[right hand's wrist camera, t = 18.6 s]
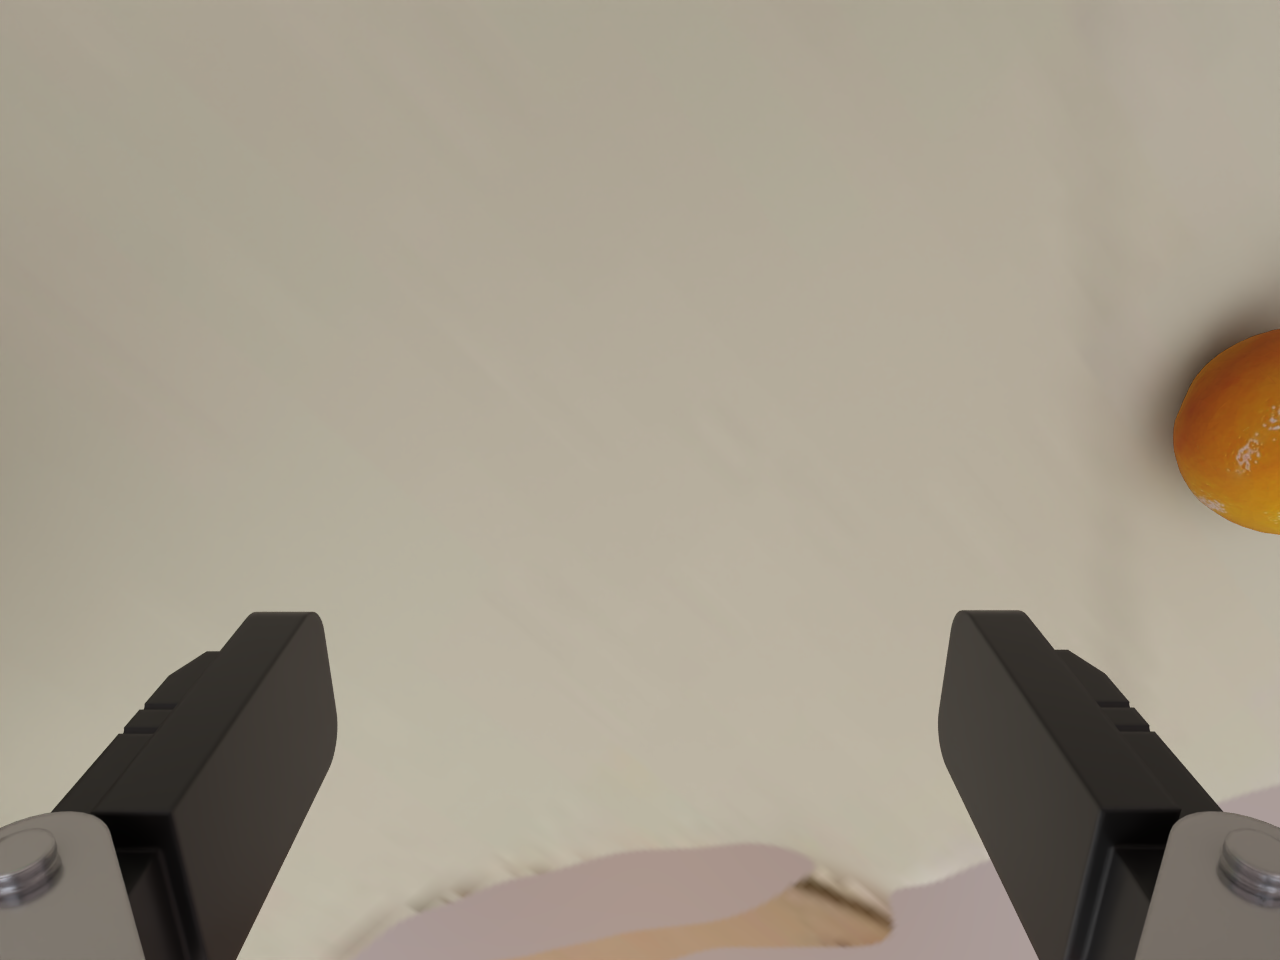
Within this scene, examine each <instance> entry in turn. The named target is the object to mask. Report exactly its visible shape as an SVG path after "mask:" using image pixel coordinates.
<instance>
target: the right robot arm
mask: <svg viewBox="0 0 1280 960" xmlns="http://www.w3.org/2000/svg"><path fill="white" fill-rule="evenodd" d="M938 733H939V742H940V748H941V752H942V756H943V759H944V762H945V765H946V767H947V769H948V771H949V773H950V775H951V778H952V780H953V782H954V784H955V786H956V788H957V790H958V792H959V794H960V796H961V798H962V800H963V802H964V805H965V807H966V809H967V811H968V813H969V815H970V817H971V819H972V821H973V823H974V825H975V827H976V829H977V832H978V834H979V836H980V838H981V840H982V842H983V844H984V846H985V848H986V850H987V852H988V854H989V857H990V859H991V861H992V863H993V865H994V867H995V869H996V871H997V873H998V875H999V877H1000V879H1001V881H1002V884H1003V886H1004V888H1005V890H1006V892H1007V894H1008V896H1009V898H1010V900H1011V902H1012V904H1013V906H1014V908H1015V911H1016V913H1017V915H1018V917H1019V919H1020V921H1021V923H1022V925H1023V927H1024V929H1025V931H1026V933H1027V935H1028V938H1029V940H1030V942H1031V944H1032V946H1033V948H1034V950H1035V952H1036V954H1037V956H1038V958H1039V960H1280V828H1279V827H1276V826H1274V825H1271V824H1269V823H1266V822H1264V821H1260V820H1258V819H1254V818H1251V817H1248V816H1243V815H1239V814H1235V813H1227V812H1223V811H1222V810H1221V809H1220V807H1219V806H1218V805H1217V804H1216V803H1215V802H1214V800H1213V799H1212V798H1211V797H1210V796H1209V795H1208V793H1207V792H1206V791H1205V790H1204V789H1203V788H1202V786H1201V785H1200V784H1199V783H1198V782H1197V781H1196V779H1195V778H1194V777H1193V776H1192V775H1191V773H1190V772H1189V771H1188V770H1187V769H1186V768H1185V766H1184V765H1183V764H1182V763H1181V762H1180V761H1179V759H1178V758H1177V757H1176V756H1175V755H1174V754H1173V752H1172V751H1171V750H1170V749H1169V748H1168V747H1167V745H1166V744H1165V743H1164V742H1163V741H1162V740H1161V738H1160V737H1159V736H1158V735H1157V734H1156V733H1155V732H1150V729H1149V724H1148V723H1147V722H1146V721H1145V720H1144V719H1143V717H1142V716H1141V715H1140V714H1139V713H1138V712H1137V710H1136V709H1135V708H1130V706H1129V701H1128V700H1127V699H1126V698H1125V696H1124V695H1123V694H1122V693H1121V692H1120V691H1119V689H1118V688H1117V687H1116V686H1115V685H1114V684H1113V682H1112V681H1111V680H1110V679H1109V678H1108V676H1107V675H1106V674H1105V673H1103V672H1102V671H1100V670H1098V669H1097V668H1095V667H1094V666H1092V665H1091V664H1089V663H1088V662H1086V661H1084V660H1083V659H1081V658H1080V657H1078V656H1077V655H1075V654H1074V653H1072V652H1070V651H1069V650H1054V648H1053V647H1052V646H1051V645H1050V643H1049V642H1048V641H1047V640H1046V638H1045V637H1044V636H1043V635H1042V633H1041V632H1040V631H1039V630H1038V628H1037V627H1036V626H1035V625H1034V623H1033V622H1032V621H1031V620H1030V618H1029V617H1028V616H1027V615H1026V614H1025V613H1024V612H1022V611H1019V610H962V611H959V612H958V613H957V614H956V616H955V618H954V620H953V623H952V627H951V633H950V640H949V647H948V653H947V660H946V667H945V674H944V680H943V687H942V694H941V700H940V707H939V715H938ZM336 739H337V713H336V706H335V699H334V693H333V686H332V679H331V673H330V666H329V660H328V653H327V646H326V640H325V633H324V628H323V624H322V621H321V619H320V617H319V615H318V614H317V613H315V612H253V613H252V614H250V615H249V616H248V617H247V618H246V619H245V621H244V622H243V623H242V624H241V626H240V627H239V628H238V629H237V631H236V632H235V633H234V634H233V636H232V637H231V638H230V639H229V641H228V642H227V643H226V644H225V646H224V647H223V648H222V649H221V650H220V651H207V652H205V653H204V654H202V655H200V656H199V657H197V658H196V659H194V660H193V661H191V662H190V663H188V664H186V665H185V666H183V667H182V668H180V669H179V670H177V671H175V672H174V673H172V674H171V675H169V676H168V677H167V679H166V680H165V681H164V682H163V683H162V684H161V685H160V687H159V688H158V689H157V690H156V691H155V692H154V694H153V695H152V696H151V697H150V698H149V699H148V701H147V702H146V703H145V707H144V710H139V711H138V712H137V713H136V714H135V716H134V717H133V718H132V719H131V720H130V721H129V723H128V724H127V725H126V726H125V727H124V733H123V734H118V735H117V736H116V738H115V739H114V740H113V741H112V742H111V743H110V745H109V746H108V747H107V748H106V749H105V750H104V751H103V753H102V754H101V755H100V756H99V757H98V758H97V760H96V761H95V762H94V763H93V764H92V765H91V767H90V768H89V769H88V770H87V771H86V772H85V773H84V775H83V776H82V777H81V778H80V779H79V780H78V782H77V783H76V784H75V785H74V786H73V787H72V789H71V790H70V791H69V792H68V793H67V794H66V795H65V797H64V798H63V799H62V800H61V801H60V802H59V804H58V805H57V806H56V807H55V808H54V809H53V811H52V812H51V813H45V814H41V815H37V816H32V817H29V818H26V819H22V820H19V821H16V822H13V823H11V824H9V825H6V826H4V827H1V828H0V960H236V959H237V956H238V954H239V952H240V950H241V948H242V946H243V944H244V942H245V940H246V938H247V936H248V934H249V932H250V930H251V928H252V926H253V924H254V922H255V920H256V917H257V915H258V913H259V911H260V909H261V907H262V905H263V903H264V901H265V899H266V897H267V895H268V893H269V891H270V889H271V887H272V885H273V883H274V881H275V878H276V876H277V874H278V872H279V870H280V868H281V866H282V864H283V862H284V860H285V858H286V856H287V854H288V852H289V850H290V848H291V846H292V844H293V842H294V839H295V837H296V835H297V833H298V831H299V829H300V827H301V825H302V823H303V821H304V819H305V817H306V815H307V813H308V811H309V809H310V807H311V805H312V803H313V800H314V798H315V796H316V794H317V792H318V790H319V788H320V786H321V784H322V782H323V780H324V778H325V776H326V774H327V772H328V770H329V767H330V765H331V762H332V759H333V756H334V752H335V746H336Z"/></svg>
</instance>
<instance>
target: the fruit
mask: <svg viewBox="0 0 1280 960" xmlns="http://www.w3.org/2000/svg"><path fill="white" fill-rule="evenodd" d="M1173 441H1174V452H1175V456H1176V460H1177V463H1178V466H1179V470H1180V472H1181V474H1182V476H1183V478H1184V480H1185V482H1186V483H1187V485H1188V487H1189V488H1190V490H1191V491H1192V492H1193V494H1194V495H1195V496H1196V497H1197V498H1198V499H1199V500H1200V501H1201V502H1202V503H1203V504H1205V505H1206V506H1207V507H1209V508H1210V509H1211V510H1213V511H1214V512H1216V513H1217V514H1219V515H1221V516H1222V517H1224V518H1225V519H1227V520H1229V521H1231V522H1233V523H1236V524H1238V525H1240V526H1243V527H1246V528H1250V529H1253V530H1256V531H1260V532H1264V533H1271V534H1278V535H1280V329H1276V330H1272V331H1269V332H1266V333H1262V334H1258V335H1255V336H1252V337H1250V338H1248V339H1246V340H1243V341H1241V342H1239V343H1237V344H1235V345H1233V346H1231V347H1230V348H1228V349H1226V350H1225V351H1223V352H1221V353H1220V354H1219V355H1217V356H1216V357H1215V358H1214V359H1212V360H1211V361H1210V362H1209V363H1208V364H1206V365H1205V366H1204V368H1203V369H1202V370H1201V371H1200V372H1199V374H1198V375H1197V376H1196V377H1195V379H1194V380H1193V382H1192V384H1191V386H1190V388H1189V389H1188V392H1187V394H1186V396H1185V398H1184V400H1183V403H1182V405H1181V408H1180V410H1179V412H1178V415H1177V417H1176V420H1175V424H1174V433H1173Z"/></svg>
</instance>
